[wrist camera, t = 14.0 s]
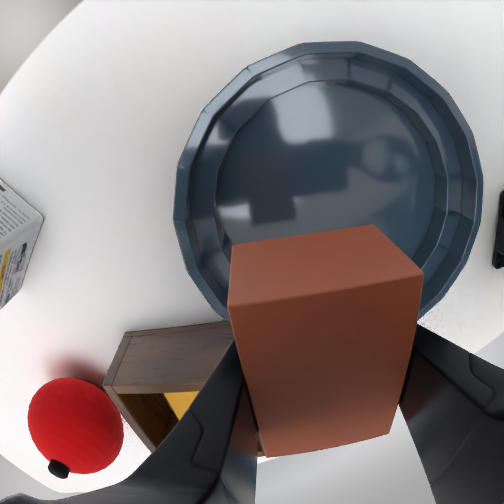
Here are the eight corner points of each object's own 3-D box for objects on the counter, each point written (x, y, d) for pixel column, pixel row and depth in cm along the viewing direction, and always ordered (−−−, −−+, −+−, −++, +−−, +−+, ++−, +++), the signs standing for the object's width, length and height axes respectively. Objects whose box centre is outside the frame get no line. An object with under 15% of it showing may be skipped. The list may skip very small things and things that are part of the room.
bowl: (440, 58, 14) (473, 53, 11) (442, 293, 21) (464, 319, 18) (159, 81, 15) (140, 73, 12) (221, 337, 22) (218, 371, 19)
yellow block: (217, 346, 21) (214, 377, 19) (234, 398, 24) (233, 427, 21) (164, 352, 22) (156, 381, 19) (188, 402, 24) (184, 429, 21)
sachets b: (373, 223, 8) (425, 272, 6) (365, 372, 11) (389, 434, 8) (231, 244, 8) (226, 306, 6) (261, 391, 11) (266, 458, 8)
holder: (251, 317, 21) (253, 376, 16) (270, 402, 25) (274, 455, 20) (125, 332, 22) (100, 385, 16) (166, 410, 26) (156, 459, 20)
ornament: (136, 378, 24) (106, 477, 15) (131, 428, 27) (111, 508, 18) (45, 343, 22) (-5, 425, 13) (55, 399, 26) (22, 470, 17)
